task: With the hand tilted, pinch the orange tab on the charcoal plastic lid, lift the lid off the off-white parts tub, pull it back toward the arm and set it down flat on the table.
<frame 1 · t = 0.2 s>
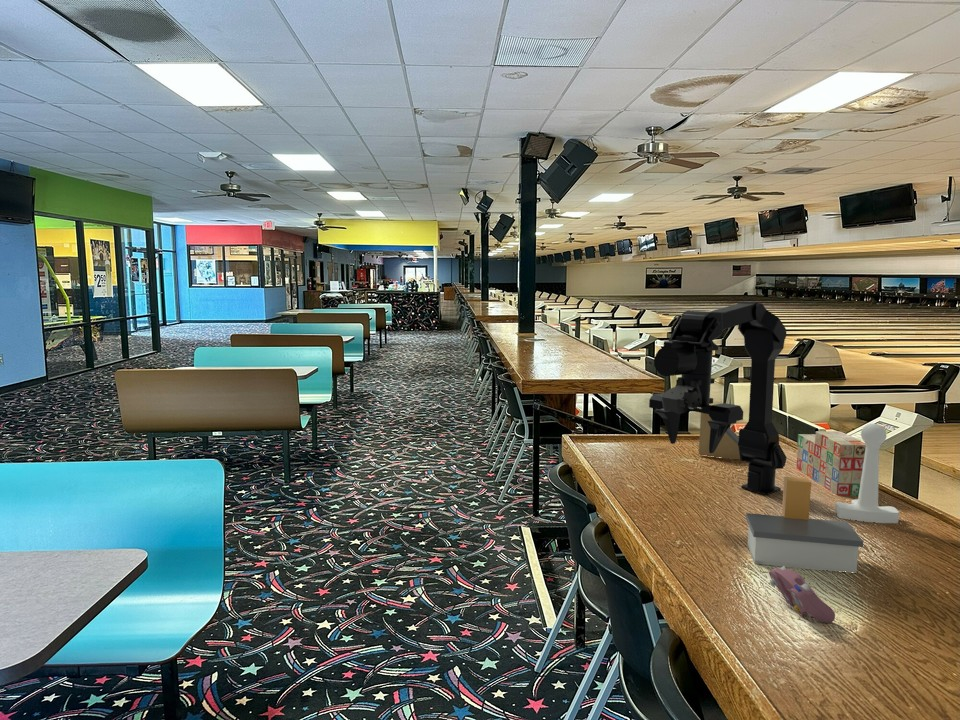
hand: (691, 448, 134), 14 cm above the table, tool pointing down, fingers open, 9 cm apart
sandwich container: (727, 456, 182), on the table
joystick: (864, 516, 137), on the table
tub: (799, 558, 115), on the table
stack of blocks: (827, 482, 160), on the table
lid: (800, 536, 115), point 4 cm above the table, touching tub
video game controller: (798, 610, 98), on the table
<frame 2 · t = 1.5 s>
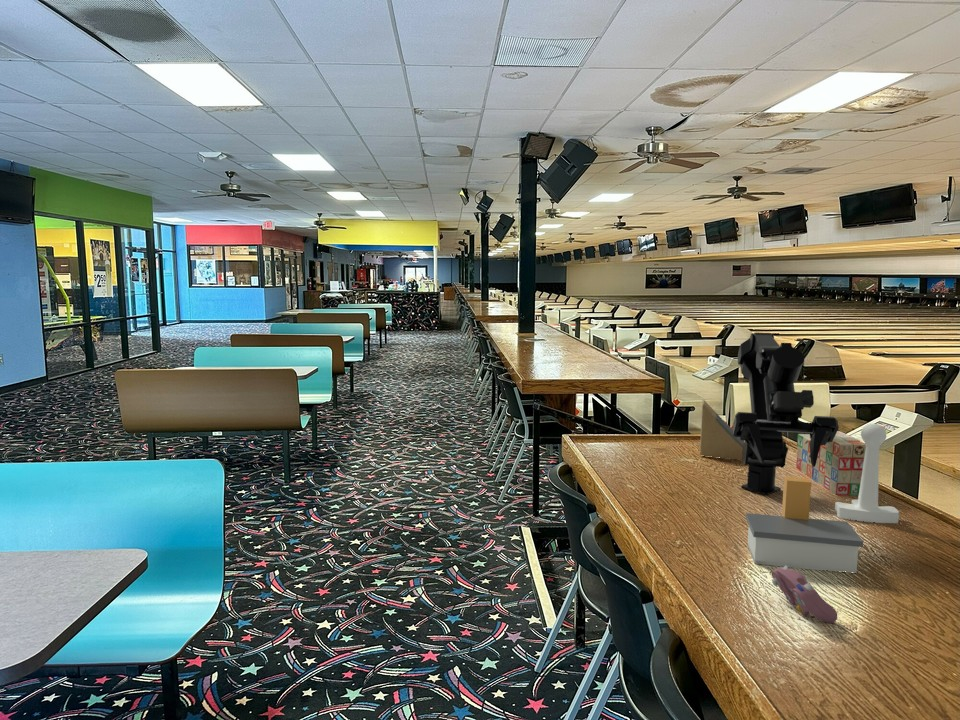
hand: (788, 464, 126), 14 cm above the table, tool tilted 45°, fingers open, 9 cm apart
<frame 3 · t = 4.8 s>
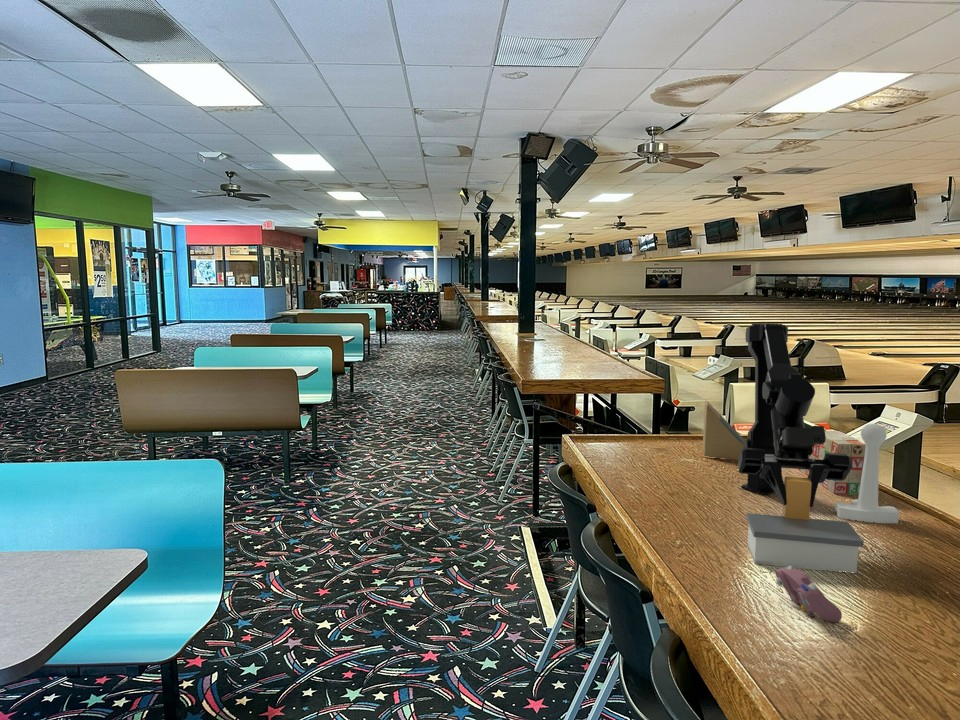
hand: (798, 505, 118), 9 cm above the table, tool tilted 45°, fingers closed on lid, 4 cm apart
lid: (801, 536, 115), point 4 cm above the table, touching gripper, tub
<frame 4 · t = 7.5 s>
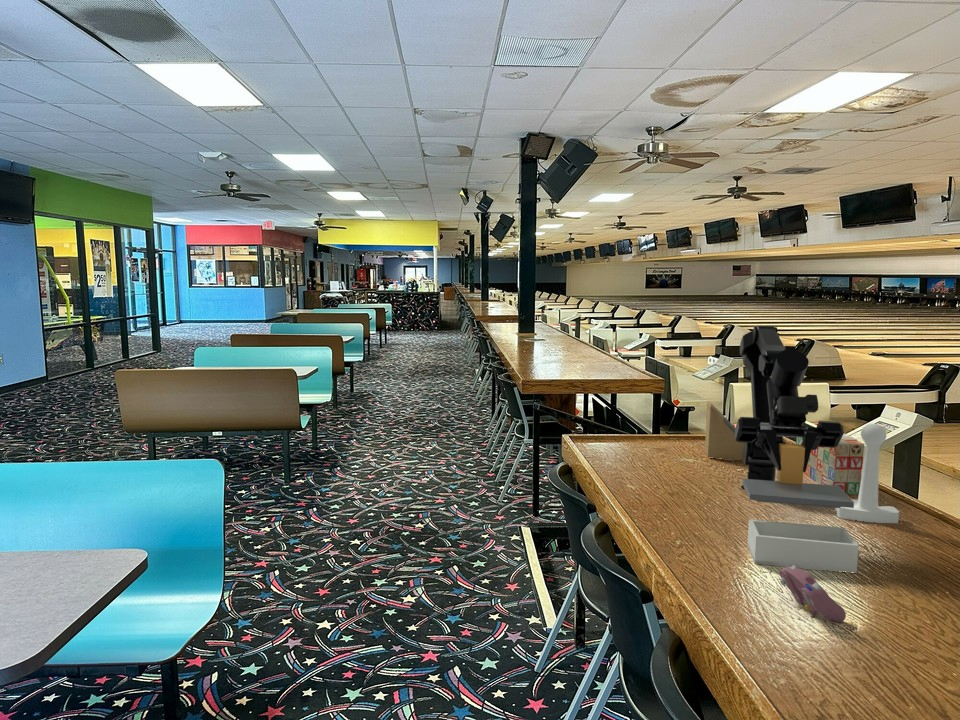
hand: (791, 470, 123), 13 cm above the table, tool tilted 45°, fingers closed on lid, 4 cm apart
lid: (794, 499, 120), point 9 cm above the table, touching gripper
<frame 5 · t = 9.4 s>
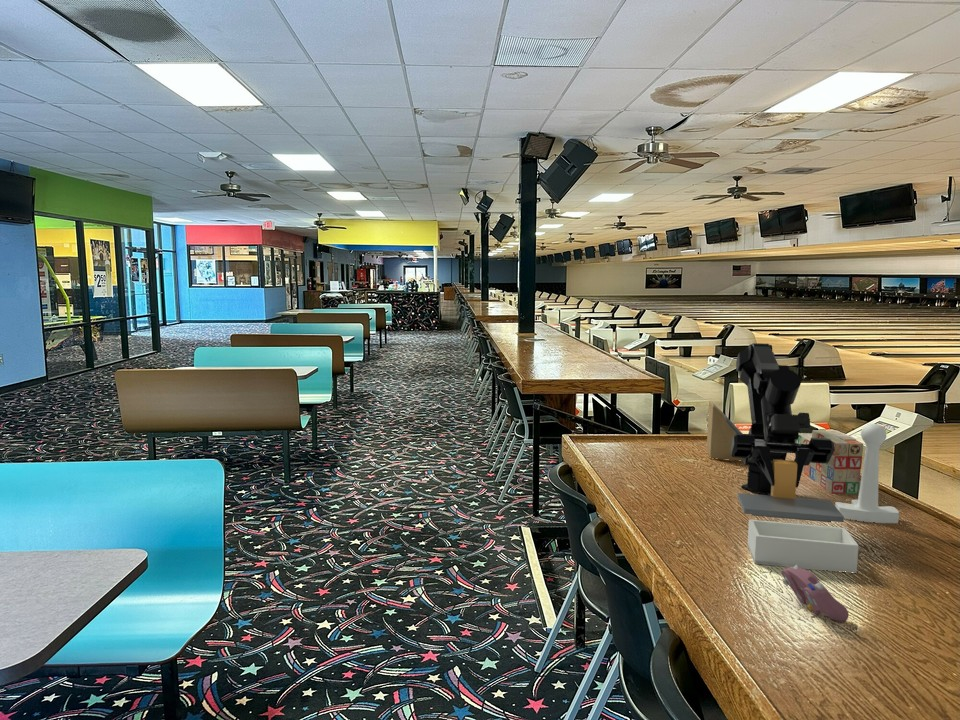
hand: (785, 485, 128), 9 cm above the table, tool tilted 45°, fingers closed on lid, 4 cm apart
lid: (787, 513, 126), point 4 cm above the table, touching gripper
when the fingers open (7 cm above the table, at t = 10.6 s): lid drops 3 cm, on the table.
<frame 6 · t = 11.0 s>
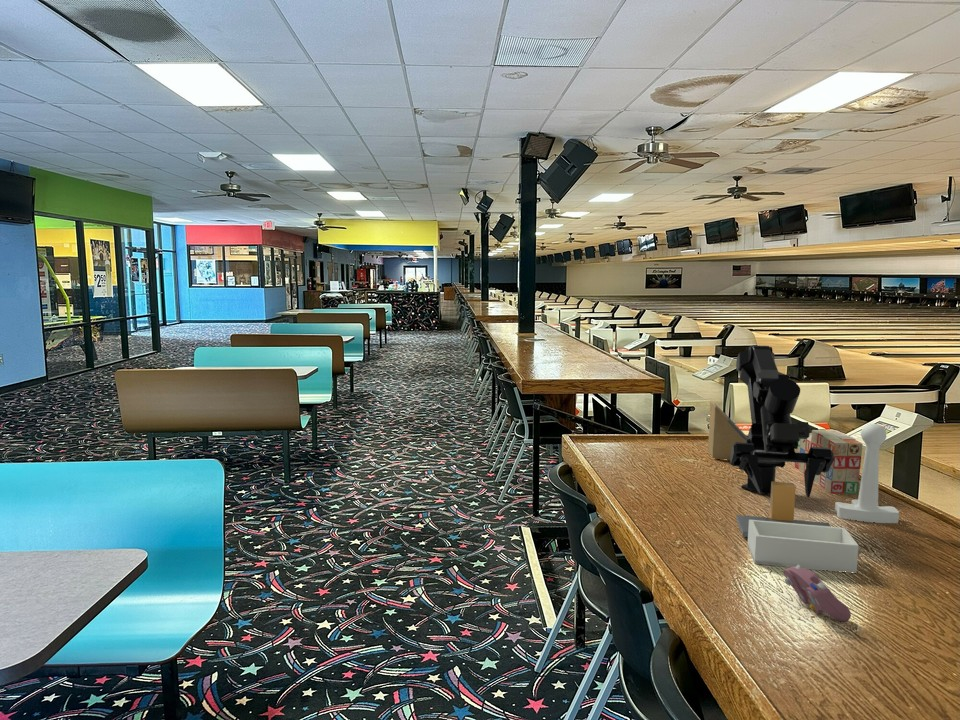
hand: (784, 494, 129), 7 cm above the table, tool tilted 45°, fingers open, 8 cm apart
lid: (785, 535, 126), on the table
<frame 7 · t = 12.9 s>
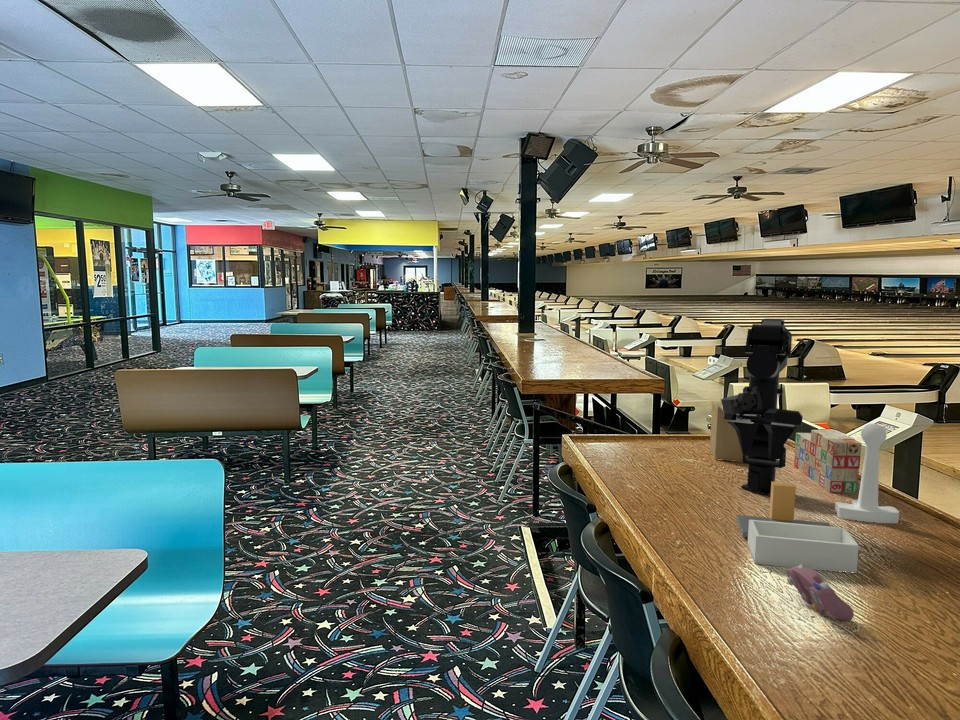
hand: (758, 457, 136), 12 cm above the table, tool pointing down, fingers open, 9 cm apart
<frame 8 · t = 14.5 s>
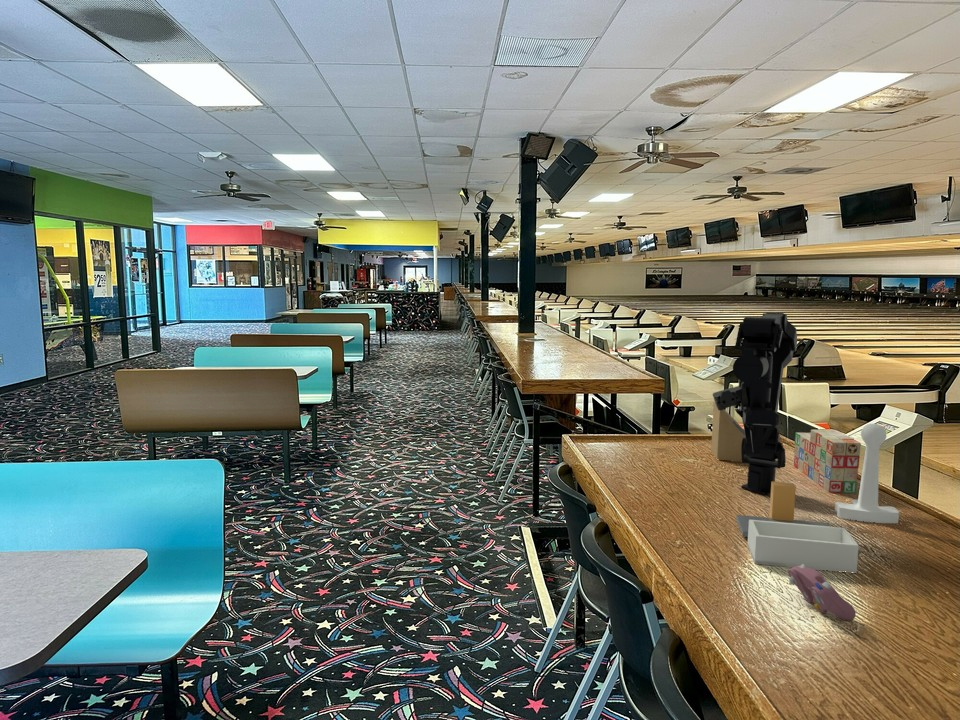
hand: (752, 448, 140), 13 cm above the table, tool pointing down, fingers open, 9 cm apart
at the end: lid touching table; lid on the table; lid moved 12.0 cm from its start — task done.
